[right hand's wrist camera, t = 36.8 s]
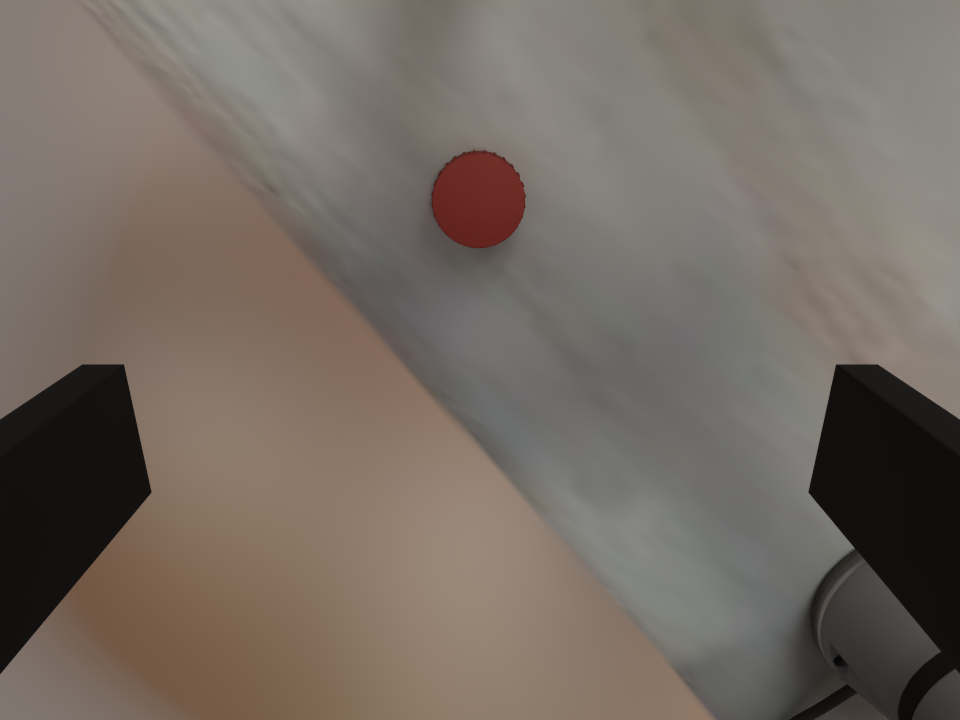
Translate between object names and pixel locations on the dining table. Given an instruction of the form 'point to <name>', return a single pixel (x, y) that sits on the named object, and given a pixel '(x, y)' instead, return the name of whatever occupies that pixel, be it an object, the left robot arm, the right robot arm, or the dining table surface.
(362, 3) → the dining table surface
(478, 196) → the lid
